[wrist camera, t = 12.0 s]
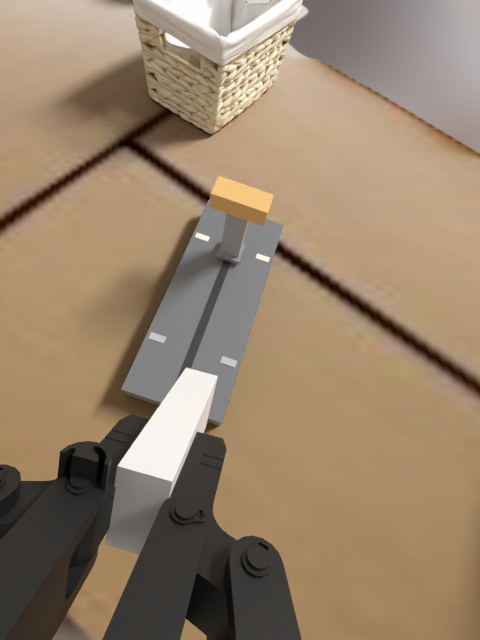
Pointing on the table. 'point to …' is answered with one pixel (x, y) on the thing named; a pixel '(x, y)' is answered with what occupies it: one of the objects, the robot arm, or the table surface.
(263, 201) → the fader knob
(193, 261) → the fader console
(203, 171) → the table surface
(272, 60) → the storage basket
